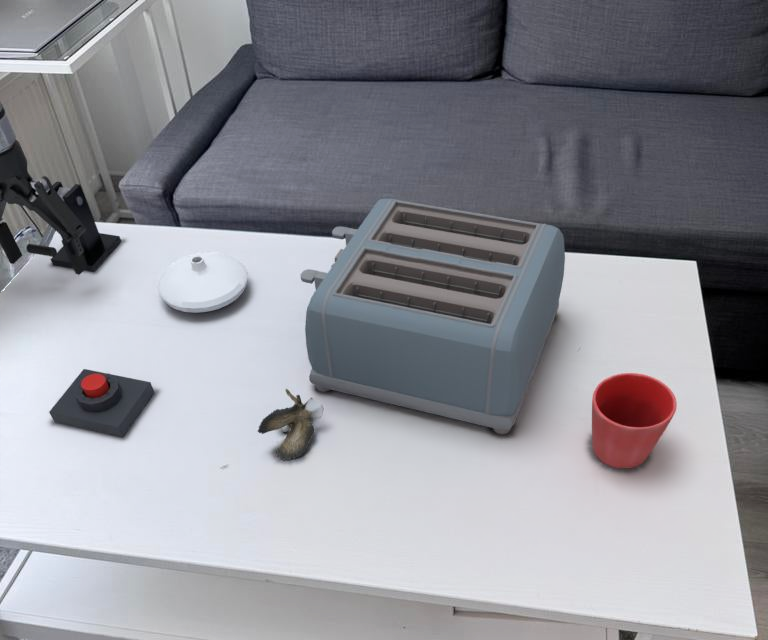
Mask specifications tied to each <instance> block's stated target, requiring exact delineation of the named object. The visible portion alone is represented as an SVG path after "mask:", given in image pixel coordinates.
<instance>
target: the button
mask: <svg viewBox="0 0 768 640" xmlns="http://www.w3.org/2000/svg"><path fill="white" fill-rule="evenodd" d="M81 386H82V388H83V390H84V392H85V394H86V396H87V397H89V398H97V397H101V396H102V395H104V394H106V393H107V392H108V390H109V385H108V383H107V381H106V379H105V377H104V376H103V375H101V374H91V375H88V376H87V377H85V378H84V379H83V380H82V382H81Z"/></svg>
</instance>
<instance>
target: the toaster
mask: <svg viewBox="0 0 768 640" xmlns="http://www.w3.org/2000/svg"><path fill="white" fill-rule="evenodd" d="M331 235H332V237H333V238H334V239H338V240H344V239H345V247H344V248H340V249H339V250H338V252H337V254H336V255H335V256H334V263H332V265H331V266H330V267H331V268H330V269H329V270H328V271H327V272H324V271H320V270H317V269H316V270H315V269H311V268H309V269H308V268H307V269H304V270H303V271H302V272H301V273H300V276H299V277H300V280H301V282H302V283H306V284H311V285H312V284H313V283H314V287H315V291H314V292H313V294H312V296H311V298H310V300H309V303H308V305H307V308H306V313H305V325H304V326H305V327H304V330H305V331H304V333H305V346H306V352H307V357H308V361H309V365H310V366H311V370H310V372H309V376H308V379H309V382H310V383H311V384H312V385H315V388H316V389H317V391H319V392H323V393H324V392H329V391H335V392H338V393H339V392H340V393H343V394H347V395H348V394H349V395H353V396H357V397H361V398H365V399H369V400H372V401H373V400H374V401H377V402H383V403H386V404H391V405H394V406H400V407H403V408H408V409H411V410H415V411H419V412H424V413H428V414H431V415H432V414H433V415H436V416H441V417H445V418H449V419H453V420H458V421H462V422H467V423H470V424H474V425H479V426H482V427H487V428H492V429H493V432H495V433H496V434H498V435H506V434H508V433H510V431H511V430H512V427H513V426H514V424H515V423H516V421H517V418H518V416H519V413H520V410H521V408H522V406H523V402H524V399H525V397H526V394H527V392H528V390H529V387H530V384H531V381H532V379H533V376H534V374H535V371H536V368H537V365H538V363H539V360H540V357H541V355H542V352H543V350H544V347H545V344H546V341H547V339H548V336H549V334H550V331H551V328H552V325H553V323H554V321H555V318H556V315H557V312H558V310H559V306H560V297H561V292H562V288H563V282H564V276H565V263H566V252H565V251H566V250H565V237H564V234H563V232H562V231H561V229H560V228H558V227H556V226H554V225H551V224H547V223H539V222H533V221H526V220H520V219H513V218H509V217H502V216H496V215H491V214H490V215H489V214H484V213H478V212H471V211H467V210H466V211H465V210H459V209H455V208H447V207H441V206H435V205H430V204H429V205H427V204H423V203H418V202H417V203H416V202H412V201H411V202H410V201H406V200H400V199H399V200H398V199H395V198H387V197H386V198H380V199H378V201H376V203H375V204H374V205H373V207H372V208H371V210H370V212H369V213H368V214H367V215H366V217H365V219H364V220H363V222H362V223H361V224H360V226H359V227H358V228H351V227H346V226H342V225H341V226H339V225H338V226H336V227H334V228H333V229H332V231H331Z"/></svg>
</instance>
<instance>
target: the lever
mask: <svg viewBox="0 0 768 640" xmlns="http://www.w3.org/2000/svg"><path fill="white" fill-rule="evenodd" d="M70 189H71V188H68V187H64V186H63V187H59V190H58V192H57V193H58V195H59V196H60V197H61V198H62V200H63V196H64V195H65V194H66V193H67V192H68V191H69V190H70ZM63 201H64V200H63ZM56 232H57V231H56V230H54V229H53V228H52V227H51V226H50V225H49V224H48V225H47V226H46V229H45V231H44V233H43V236H42V237H41V240H40V242H39V243H38V244H34V243H27V245H26V252H27V253H28V254H33V255H40V256H46V257H51V258H52V257H55V256H56V254H57V252H58V251H57V249H56V248H55V247H53V246H50V244H51V243H52V240H53V238H54V235H55V234H56Z"/></svg>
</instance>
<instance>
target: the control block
mask: <svg viewBox="0 0 768 640" xmlns="http://www.w3.org/2000/svg"><path fill="white" fill-rule="evenodd" d="M91 374H101V375H103V376H104V377H105V379H106V381H107V383H108V385H109V390H108V392H107V393H106V394H104V395H102V396H101V397H97V398H89V397H87V396H86V394H85V392H84V390H83V388H82V386H81V382H82V380H83V379H84V378H85V377H87V376H88V375H91ZM154 394H155V390H154V387H153V384H152V383H151V381H146V380H143V379H142V380H141V379H137V378H132V377H127V376H121V375H118V374H117V375H116V374H111V373H106V372H101V371H96V370H91V369H87V368H83V369H82V370H81V372H80V373H79V374H78V375H77V376H76V378H75V379H74V380H73V381H72V383H71V384H70V385H69V387H68V388H67V389H66V390H65V391H64V393H63V394H62V395H61V397H60V398H58V400H57V401H56V402H55V404H54V405H53V407H52V408H51V409H50V410H49V411H48V413H49V415H50V417H51V419H52V420H53V422H54V423H57V424H61V425H66V426H69V427H74V428H75V427H76V428H79V429H84V430H87V431H88V430H89V431H93V432H98V433H103V434H107V435H111V436H117V437H120V438H124V436H125V435H126V434H127V432H128V431H129V430H130V428H131V427H132V425H133V424H134V422H135V421H136V419H137V418H138V416H139V415H140V414H141V412H142V411H143V409H144V408H145V407H146V405H147V404H148V402H149V401H150V400H151V398H152V396H153V395H154Z"/></svg>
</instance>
